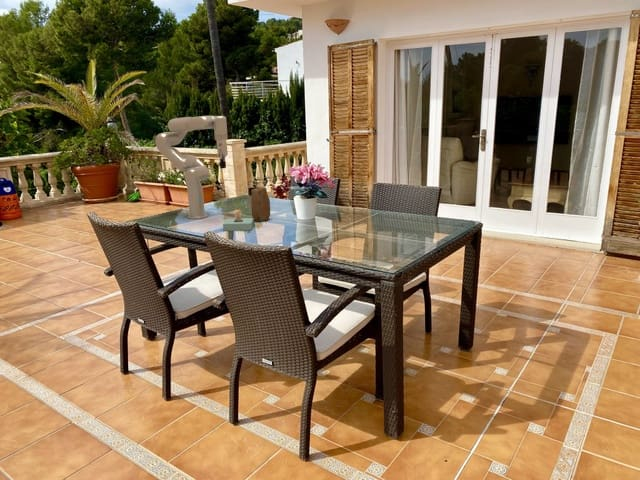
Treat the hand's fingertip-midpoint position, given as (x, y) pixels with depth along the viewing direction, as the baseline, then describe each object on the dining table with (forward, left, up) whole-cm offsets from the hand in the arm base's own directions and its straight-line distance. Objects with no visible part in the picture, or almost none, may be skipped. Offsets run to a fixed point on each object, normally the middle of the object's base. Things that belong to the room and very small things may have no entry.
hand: (223, 168), depth 299 cm
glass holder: (+18, +26, -32) cm, 45 cm away
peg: (+10, -22, -32) cm, 40 cm away
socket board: (+10, -22, -32) cm, 40 cm away
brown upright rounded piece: (+22, -4, -32) cm, 39 cm away
